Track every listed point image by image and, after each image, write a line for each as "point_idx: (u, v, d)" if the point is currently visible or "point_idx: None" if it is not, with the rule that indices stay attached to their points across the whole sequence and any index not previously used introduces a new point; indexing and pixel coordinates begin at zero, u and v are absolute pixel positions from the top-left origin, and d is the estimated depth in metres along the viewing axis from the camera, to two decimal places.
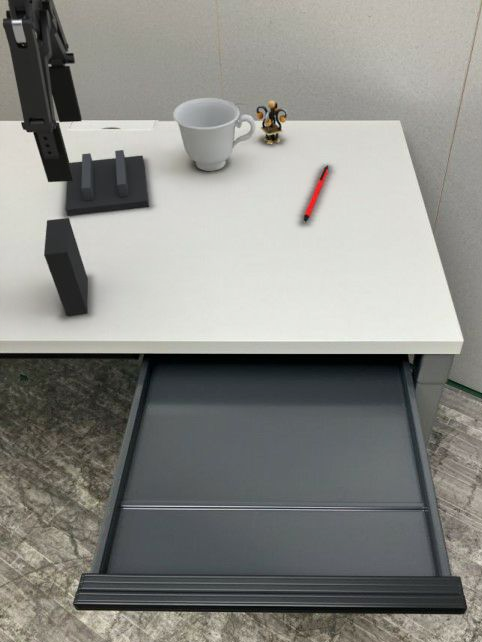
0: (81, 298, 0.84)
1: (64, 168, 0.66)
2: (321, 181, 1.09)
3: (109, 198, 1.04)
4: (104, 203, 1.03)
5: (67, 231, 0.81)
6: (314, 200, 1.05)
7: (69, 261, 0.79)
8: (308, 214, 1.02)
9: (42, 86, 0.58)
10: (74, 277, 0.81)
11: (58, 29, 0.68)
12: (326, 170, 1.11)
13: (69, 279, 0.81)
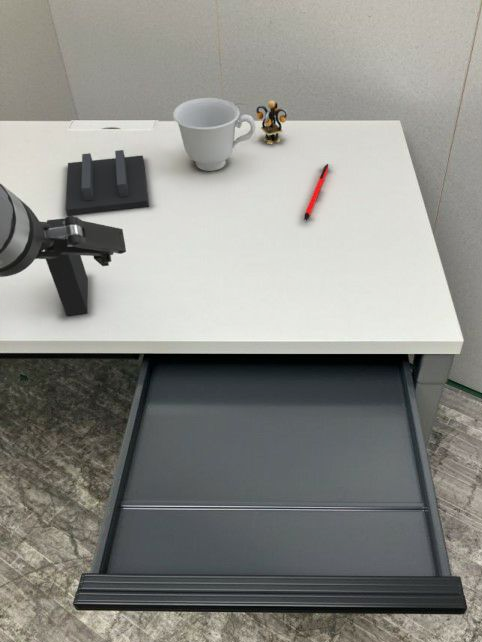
0: (81, 298, 0.84)
1: None
2: (321, 179, 1.09)
3: (109, 198, 1.04)
4: (104, 203, 1.03)
5: None
6: (314, 198, 1.05)
7: (69, 261, 0.79)
8: (308, 212, 1.02)
9: None
10: (74, 277, 0.81)
11: (98, 248, 0.62)
12: (326, 168, 1.11)
13: (69, 279, 0.81)
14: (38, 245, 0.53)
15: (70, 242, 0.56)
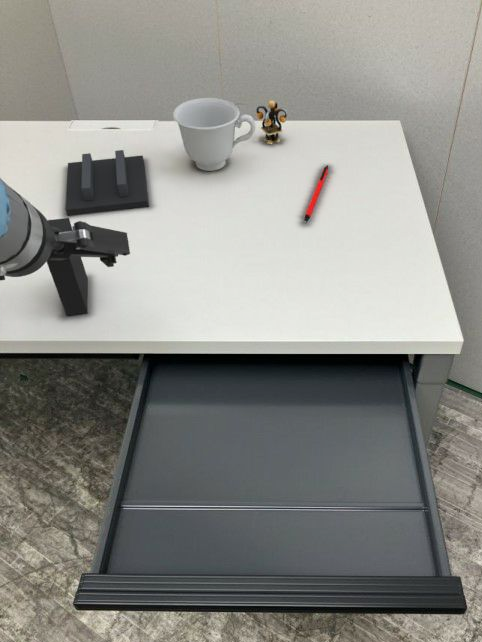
0: (81, 298, 0.84)
1: None
2: (321, 181, 1.09)
3: (109, 198, 1.04)
4: (104, 203, 1.03)
5: None
6: (314, 200, 1.05)
7: (69, 261, 0.79)
8: (309, 214, 1.02)
9: None
10: (74, 277, 0.81)
11: (104, 251, 0.67)
12: (326, 170, 1.11)
13: (69, 279, 0.81)
14: (50, 248, 0.58)
15: (79, 245, 0.61)
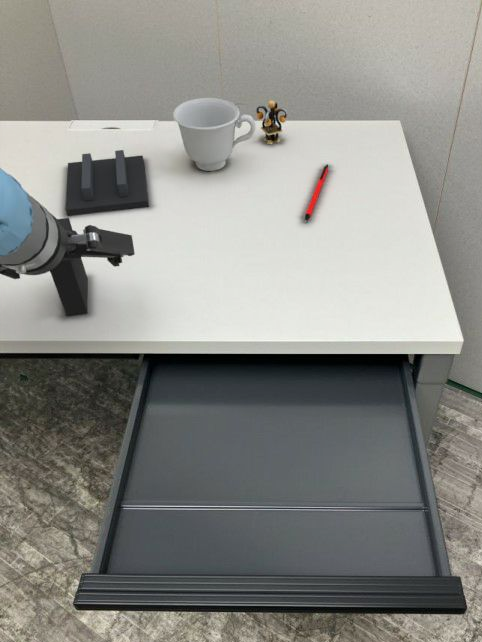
0: (81, 298, 0.84)
1: None
2: (321, 180, 1.09)
3: (109, 198, 1.04)
4: (104, 203, 1.03)
5: None
6: (315, 199, 1.05)
7: (69, 261, 0.79)
8: (309, 213, 1.02)
9: None
10: (74, 277, 0.81)
11: (111, 252, 0.74)
12: (326, 169, 1.11)
13: (69, 279, 0.81)
14: (64, 249, 0.65)
15: (89, 247, 0.68)
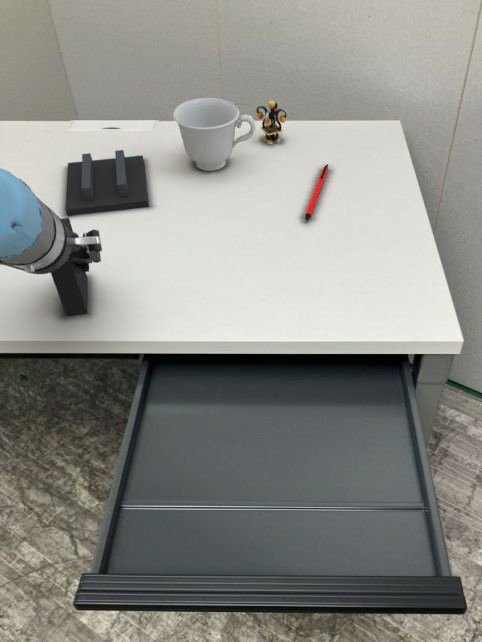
0: (81, 298, 0.84)
1: None
2: (321, 180, 1.09)
3: (109, 198, 1.04)
4: (104, 203, 1.03)
5: None
6: (315, 199, 1.05)
7: None
8: (310, 213, 1.02)
9: (14, 267, 0.77)
10: (74, 277, 0.81)
11: (90, 257, 0.78)
12: (326, 169, 1.11)
13: (69, 279, 0.81)
14: (69, 249, 0.69)
15: (95, 249, 0.73)
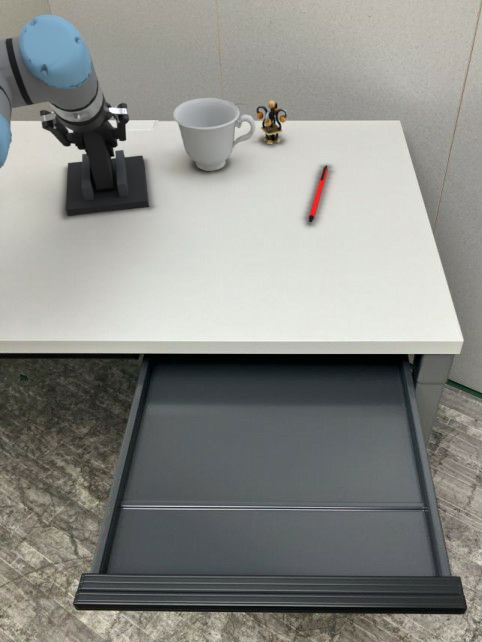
0: (109, 173, 1.02)
1: None
2: (322, 181, 1.09)
3: (109, 198, 1.04)
4: (104, 203, 1.03)
5: None
6: (317, 200, 1.05)
7: (101, 136, 0.97)
8: (313, 215, 1.02)
9: (57, 138, 0.95)
10: (104, 152, 0.99)
11: (118, 132, 0.97)
12: (326, 170, 1.11)
13: (100, 154, 1.00)
14: (105, 112, 0.87)
15: (124, 118, 0.91)
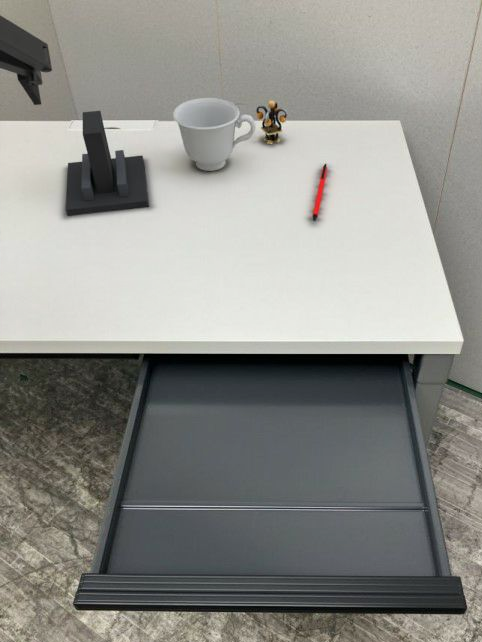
0: (110, 177, 1.03)
1: None
2: (323, 179, 1.09)
3: (109, 198, 1.04)
4: (104, 203, 1.03)
5: (100, 119, 1.00)
6: (319, 199, 1.04)
7: (102, 141, 0.98)
8: (316, 213, 1.01)
9: None
10: (105, 156, 1.00)
11: None
12: (325, 168, 1.11)
13: (101, 158, 1.00)
14: None
15: None
